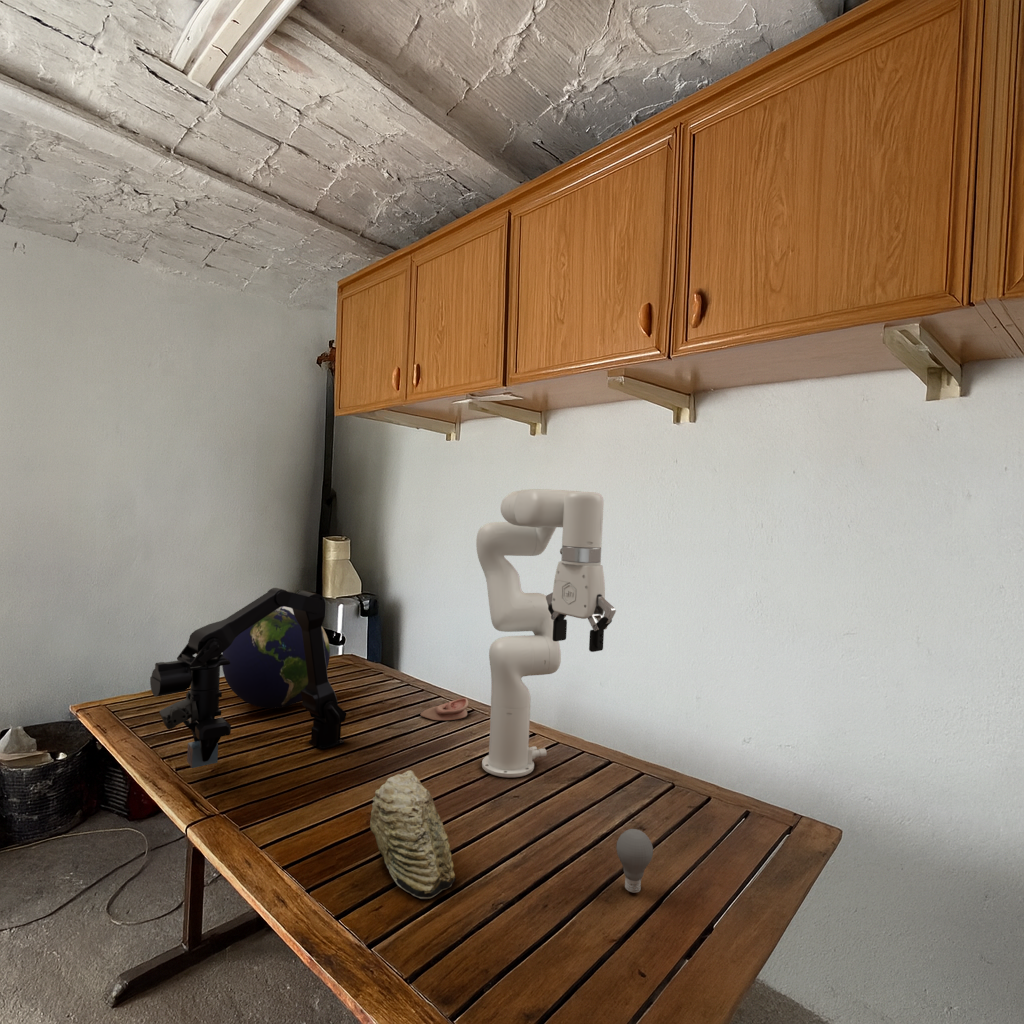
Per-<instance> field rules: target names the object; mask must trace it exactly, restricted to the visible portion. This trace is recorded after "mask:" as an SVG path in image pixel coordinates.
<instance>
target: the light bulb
mask: <svg viewBox="0 0 1024 1024" xmlns="http://www.w3.org/2000/svg"><path fill="white" fill-rule="evenodd" d="M615 849H616V854H617V857H618V859H619V861H620V863H621V865H622V867H623V873H624V874H623V875H624V876H625V878H624V888H625V890H627V891H628V892H630V893H634V894H635V893H639V892H640V891H641V889H642V887H641V886H642V879H643V877H644V875H645V871H646V868H647V867H648V866H649V864H650V863H651V861H652V859H653V855H654V847H653V843H652V841H651V838H649V836H648V835H647V834H646V833H645V832H643V831H642V830H641V829H636V828H629V829H627V830H625V831H623V832H622V833H621V834H620V835H619V837H618V839H617V841H616V847H615Z"/></svg>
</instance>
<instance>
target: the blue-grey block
mask: <svg viewBox="0 0 1024 1024" xmlns="http://www.w3.org/2000/svg"><path fill="white" fill-rule="evenodd" d="M186 755H187V757H186V762H187V763H188V765H189V766H190V768H191V769H195V768H199V767H205V766H209V765H213V764H218V762H219V761H218V760H219V759H218V758H219V757H218V756H219V742H218V743H217V745H216V747H215V749H214V751H213V753H212V755H211V757H210V758H209V760H208V761H205V762H203V760H202V754H201V747H200V741H195V742H194V741H191V742H187V753H186Z"/></svg>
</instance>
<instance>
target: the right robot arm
mask: <svg viewBox="0 0 1024 1024" xmlns="http://www.w3.org/2000/svg"><path fill="white" fill-rule="evenodd" d="M604 501H605V500H604V497H603V495H602V494H601V493H599V492H596V491H595V492H594V491H581V490H580V491H579V490H565V489H549V488H545V489H544V488H529V489H521V490H515V491H512V492H509V493H508V494H507V495H506V496H504V498H503V499H502V500H501V503H500V513H501V516H502V517H503V519H504V520H505V521H493V522H488V523H485V524H483V525H482V526H480V528H479V529H478V531H477V533H476V543H475V544H476V545H475V546H476V553H477V554H476V555H477V559H478V561H479V565H480V567H481V570H482V571H483V575H484V578H485V582H486V591H487V597H488V599H487V600H488V606H489V615H490V620H491V624H492V626H493V628H494V629H495V630H497V631H499V632H504V633H517V632H532V633H533V635H507V636H502V637H498V638H497V639H495V640H494V641H493V642H492V643H491V644H490V646H489V649H488V661H489V667H490V679H491V690H490V691H491V692H490V694H491V695H490V718H489V740H488V754H487V755H486V756H484V757H483V758H482V760H481V761H482V762H481V767H482V769H483V770H484V771H485V772H486V773H488V774H490V775H491V776H496V777H499V778H512V779H513V778H520V777H524V776H527V775H529V774H531V773H532V772H533V771H534V769H535V762H534V760H536V758H544V757H547V753H548V752H547V749H546V748H544V747H543V748H537V746H535V745H534V746H530V723H531V722H530V721H531V702H532V701H531V697H532V696H531V692H530V689H529V688H528V686H527V685H526V684H525V683H524V682H523V679H522V678H524V677H529V676H544V675H552V674H554V673H556V672H557V671H558V670H559V669H560V666H561V662H562V654H561V653H562V652H561V645H560V642H563V641H565V640H567V628H568V619H567V618H566V617H567V616H568V617H572V618H577V619H581V620H586V619H587V620H588V622H589V625H590V626H591V628H592V629H590V630H589V640H588V642H589V643H588V650H589V652H591V653H595V652H600V651H603V650H604V637H605V630H607V629H608V627H609V626H610V624H611V623H612V622H613V618H614V616H615V614H616V612H617V610H616V607H614V606H613V605H612V604H611V603H610V602H609V601H608V600H607V599H606V584H605V574H604V573H605V572H604V566H603V564H602V547H603V525H604V524H603V523H604ZM557 528H562V537H561V538H562V539H561V542H562V543H561V548H560V549H559V554H560V555H561V557H560V559H561V560H560V561H558V562H557V566H556V570H555V574H554V581H553V588H552V592H551V593H549V594H544V593H542V592H541V593H540V592H524V591H523V590H522V584H521V576H520V573H519V572H518V570H517V569H516V568H515V566H514V565H513V564H512V563H511V561H509V560H508V559H506V557H507V556H511V557H512V556H513V557H536V556H539V555H541V554H543V553H544V552H545V550H546V549H547V547H548V546H549V543H550V541H551V539H552V537H553V535H554V534H555V531H556V530H557Z"/></svg>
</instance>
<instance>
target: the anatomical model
mask: <svg viewBox="0 0 1024 1024" xmlns="http://www.w3.org/2000/svg"><path fill="white" fill-rule="evenodd" d="M468 706H469V700H468V698H467V697H463V698H462V697H461V698H458V699H454V700H451V701H448V702H445V703H441V704H440V705H436V706H433V707H432V706H431V707H429V708H427V709H424V710H423V711H421V712H420V713H419V714H420V716H421V717H423V718H426V719H429V720H432V721H453V720H460V719H464V718H466V717H467V716H468V711H467V708H468Z"/></svg>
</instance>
